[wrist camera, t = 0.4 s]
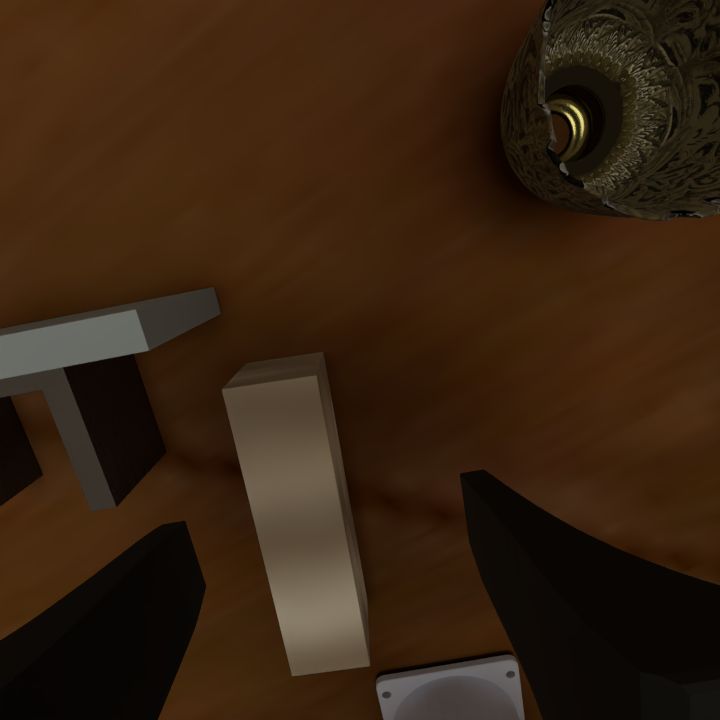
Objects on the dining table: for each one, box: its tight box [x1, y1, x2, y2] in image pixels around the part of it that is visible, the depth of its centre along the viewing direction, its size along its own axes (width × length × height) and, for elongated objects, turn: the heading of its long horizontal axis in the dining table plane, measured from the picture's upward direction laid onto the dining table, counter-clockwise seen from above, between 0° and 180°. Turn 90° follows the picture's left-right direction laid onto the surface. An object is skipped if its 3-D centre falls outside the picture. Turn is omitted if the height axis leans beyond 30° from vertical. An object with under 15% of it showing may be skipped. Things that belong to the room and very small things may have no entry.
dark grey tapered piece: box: [500, 0, 720, 221], centre depth 14 cm, size 8×7×8 cm
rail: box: [222, 352, 370, 676], centre depth 20 cm, size 14×4×4 cm, turn 9°
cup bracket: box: [0, 354, 166, 512], centre depth 18 cm, size 6×7×4 cm
